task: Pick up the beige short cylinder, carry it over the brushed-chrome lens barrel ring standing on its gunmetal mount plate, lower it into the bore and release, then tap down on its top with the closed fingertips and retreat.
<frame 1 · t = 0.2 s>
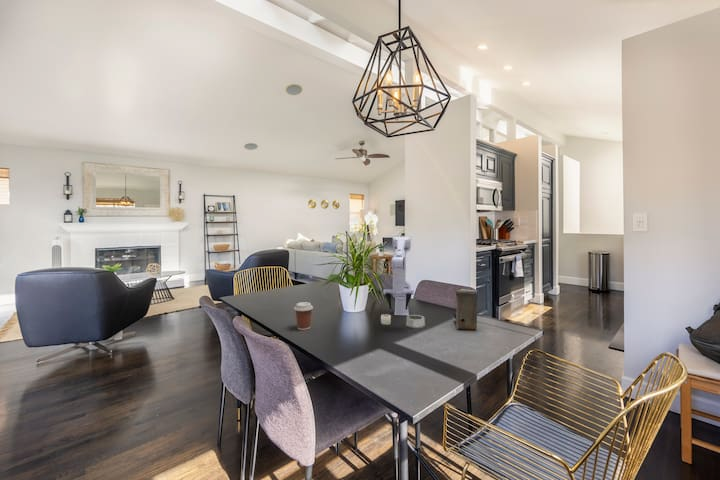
hand: (398, 308, 161), 10 cm above the table, fingers open, 7 cm apart
coffee cup: (303, 328, 163), on the table
beige short cylinder: (385, 323, 170), on the table
lens barrel: (415, 325, 166), on the table
vintage camera: (463, 325, 166), on the table
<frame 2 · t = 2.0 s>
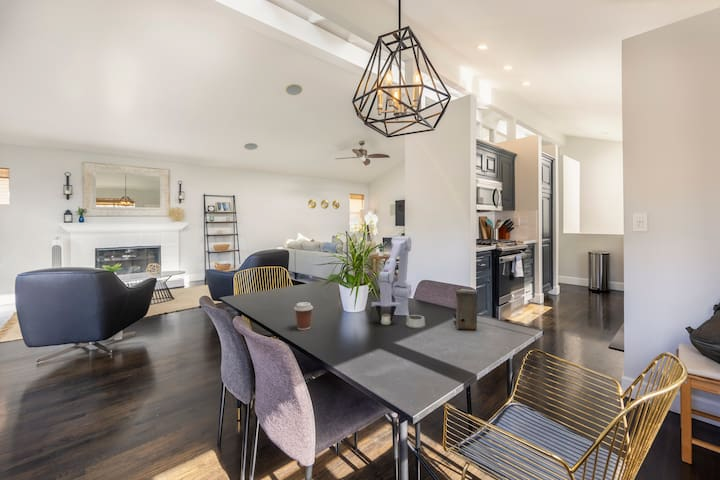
hand: (385, 320, 170), 1 cm above the table, fingers closed on beige short cylinder, 5 cm apart
beige short cylinder: (385, 323, 170), on the table, touching gripper
everything else where it was.
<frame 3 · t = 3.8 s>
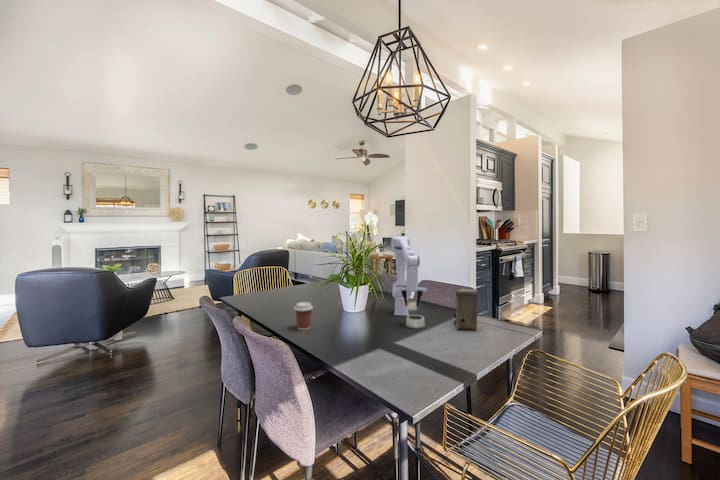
hand: (411, 305, 166), 10 cm above the table, fingers closed on beige short cylinder, 5 cm apart
beige short cylinder: (411, 308, 166), point 8 cm above the table, touching gripper
everything else where it was.
when the fingers open (5 cm above the table, at t = 5.5 s): beige short cylinder drops 2 cm, resting on lens barrel.
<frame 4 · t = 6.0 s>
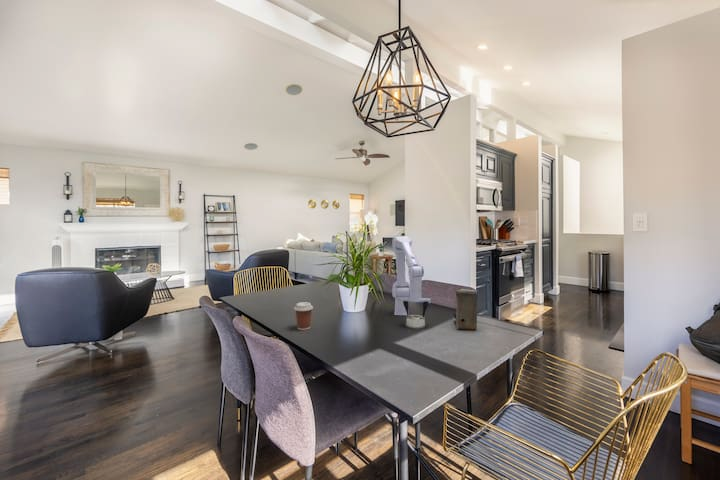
hand: (415, 316, 166), 5 cm above the table, fingers open, 7 cm apart
beige short cylinder: (415, 324, 166), point 1 cm above the table, touching lens barrel
everything else where it was.
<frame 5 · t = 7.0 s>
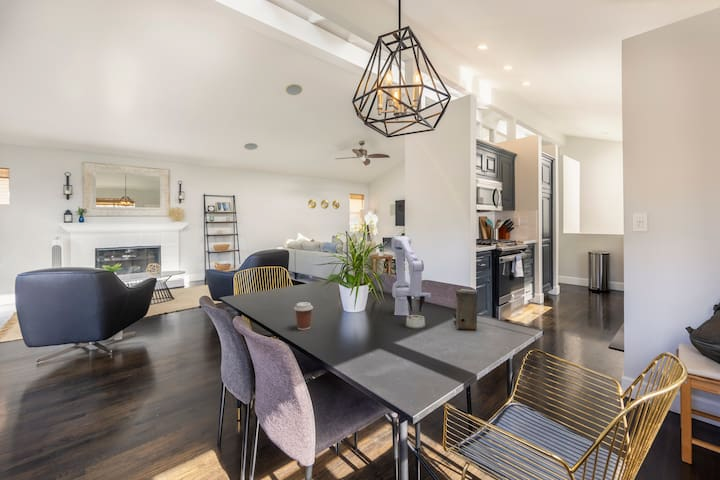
hand: (415, 311, 166), 7 cm above the table, fingers open, 4 cm apart
nothing on the table moved.
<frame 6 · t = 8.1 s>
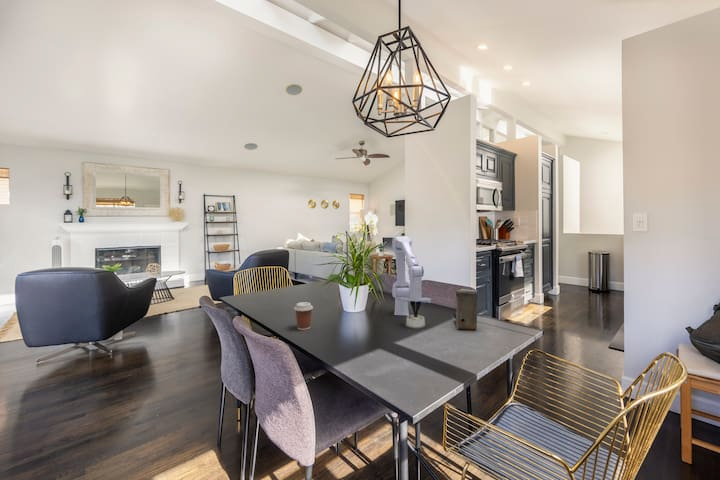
hand: (415, 316, 166), 5 cm above the table, fingers closed, pressing on beige short cylinder
beige short cylinder: (415, 324, 166), point 1 cm above the table, touching gripper, lens barrel
everything else where it was.
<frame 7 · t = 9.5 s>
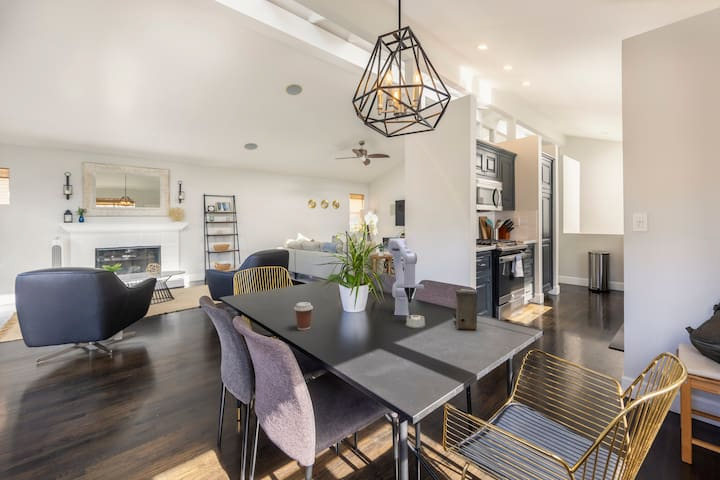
hand: (409, 302, 171), 10 cm above the table, fingers closed
beige short cylinder: (415, 324, 166), point 1 cm above the table, touching lens barrel
everything else where it was.
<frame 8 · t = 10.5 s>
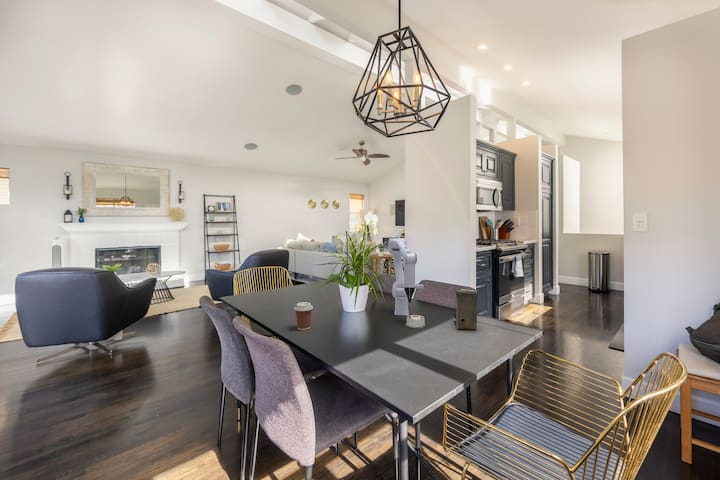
hand: (409, 302, 171), 10 cm above the table, fingers closed
nothing on the table moved.
at the end: beige short cylinder 0.1 cm off-centre on the lens barrel, point 0.6 cm above the lens barrel's base; beige short cylinder tilted 0°; the gripper is holding nothing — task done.
